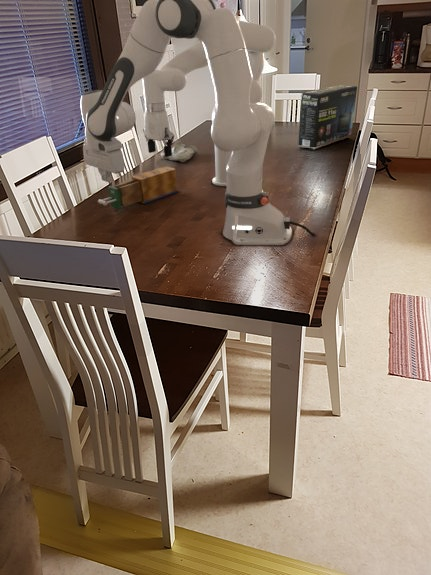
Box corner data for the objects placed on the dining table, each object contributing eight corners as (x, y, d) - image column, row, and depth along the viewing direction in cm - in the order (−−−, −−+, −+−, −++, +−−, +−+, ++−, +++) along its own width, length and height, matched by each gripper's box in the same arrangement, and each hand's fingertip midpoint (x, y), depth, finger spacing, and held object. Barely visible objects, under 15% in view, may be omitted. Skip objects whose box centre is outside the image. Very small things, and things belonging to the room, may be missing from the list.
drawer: (106, 214, 166) (103, 193, 162) (98, 210, 169) (95, 190, 165) (152, 197, 179) (150, 178, 175) (144, 195, 182) (142, 175, 178)
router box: (314, 151, 231) (318, 94, 217) (296, 148, 237) (299, 92, 224) (352, 138, 251) (358, 85, 238) (335, 135, 258) (340, 83, 245)
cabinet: (144, 203, 176) (141, 179, 171) (134, 200, 180) (131, 176, 175) (177, 192, 186) (175, 168, 181) (167, 188, 190) (165, 166, 185)
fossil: (184, 156, 217) (163, 136, 220) (174, 174, 223) (154, 154, 227) (205, 153, 231) (186, 134, 234) (195, 171, 237) (176, 152, 240)
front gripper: (75, 138, 161) (83, 177, 168) (108, 147, 149) (115, 189, 156) (91, 135, 165) (97, 173, 172) (124, 143, 153) (130, 184, 160)
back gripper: (133, 106, 171) (138, 152, 180) (162, 111, 161) (167, 160, 170) (149, 103, 176) (153, 148, 185) (178, 108, 165) (182, 155, 174)
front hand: (106, 180), depth 164 cm, fingers closed
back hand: (160, 154), depth 177 cm, fingers open, 9 cm apart
